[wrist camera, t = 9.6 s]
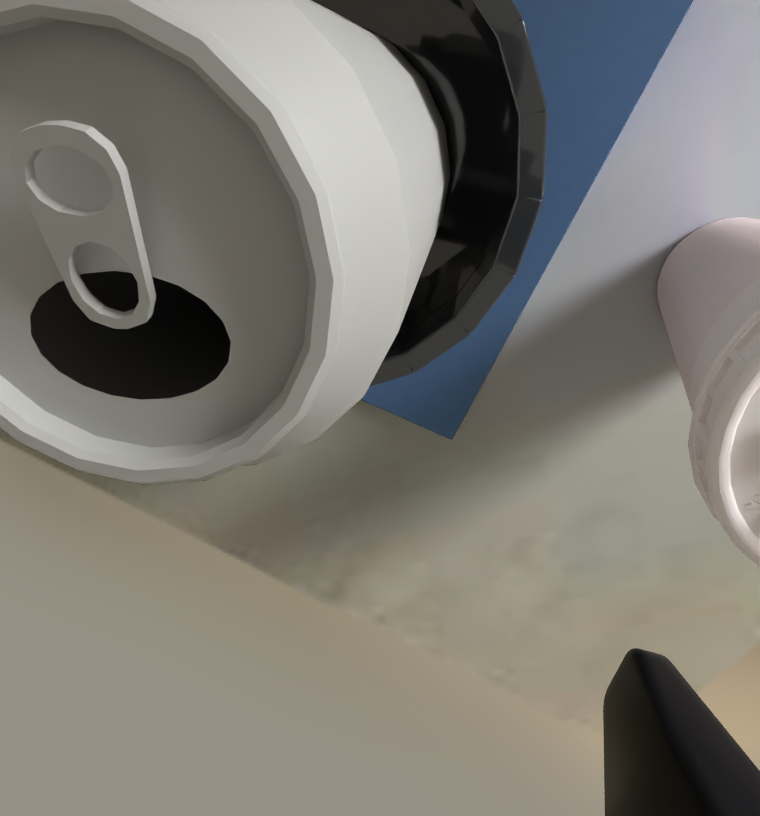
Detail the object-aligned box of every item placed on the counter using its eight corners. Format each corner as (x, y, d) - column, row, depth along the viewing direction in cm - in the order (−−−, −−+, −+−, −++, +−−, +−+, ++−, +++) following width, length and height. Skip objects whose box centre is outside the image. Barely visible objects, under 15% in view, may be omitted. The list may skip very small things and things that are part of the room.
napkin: (75, 270, 21) (71, 272, 21) (163, -268, 15) (160, -272, 15) (452, 437, 22) (451, 439, 22) (697, -11, 15) (700, -13, 15)
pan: (101, 208, 20) (6, 237, 16) (255, -194, 15) (170, -295, 11) (392, 396, 22) (371, 465, 18) (622, 85, 17) (664, 83, 13)
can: (214, 293, 20) (-83, 511, 10) (177, 21, 17) (-336, -91, 6) (448, 299, 19) (396, 554, 9) (456, 10, 16) (389, -147, 5)
